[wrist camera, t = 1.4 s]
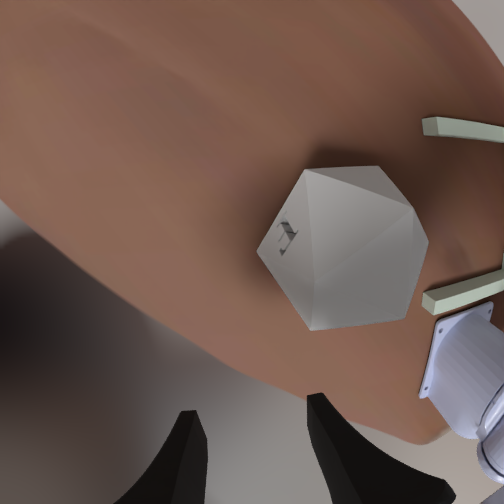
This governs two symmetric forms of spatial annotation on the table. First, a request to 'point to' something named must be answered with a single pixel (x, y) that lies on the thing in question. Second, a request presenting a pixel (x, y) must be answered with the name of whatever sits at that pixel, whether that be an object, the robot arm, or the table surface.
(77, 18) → the table surface
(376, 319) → the die
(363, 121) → the table surface
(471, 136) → the bay
